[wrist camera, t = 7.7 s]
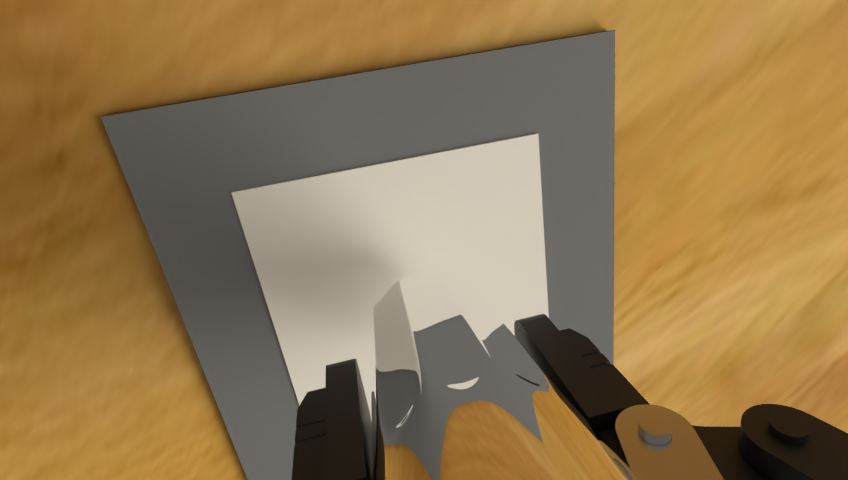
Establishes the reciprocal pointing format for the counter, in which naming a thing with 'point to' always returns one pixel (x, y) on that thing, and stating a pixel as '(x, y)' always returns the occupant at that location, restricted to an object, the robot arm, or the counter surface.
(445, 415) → the milkshake
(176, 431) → the counter surface
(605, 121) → the pad
